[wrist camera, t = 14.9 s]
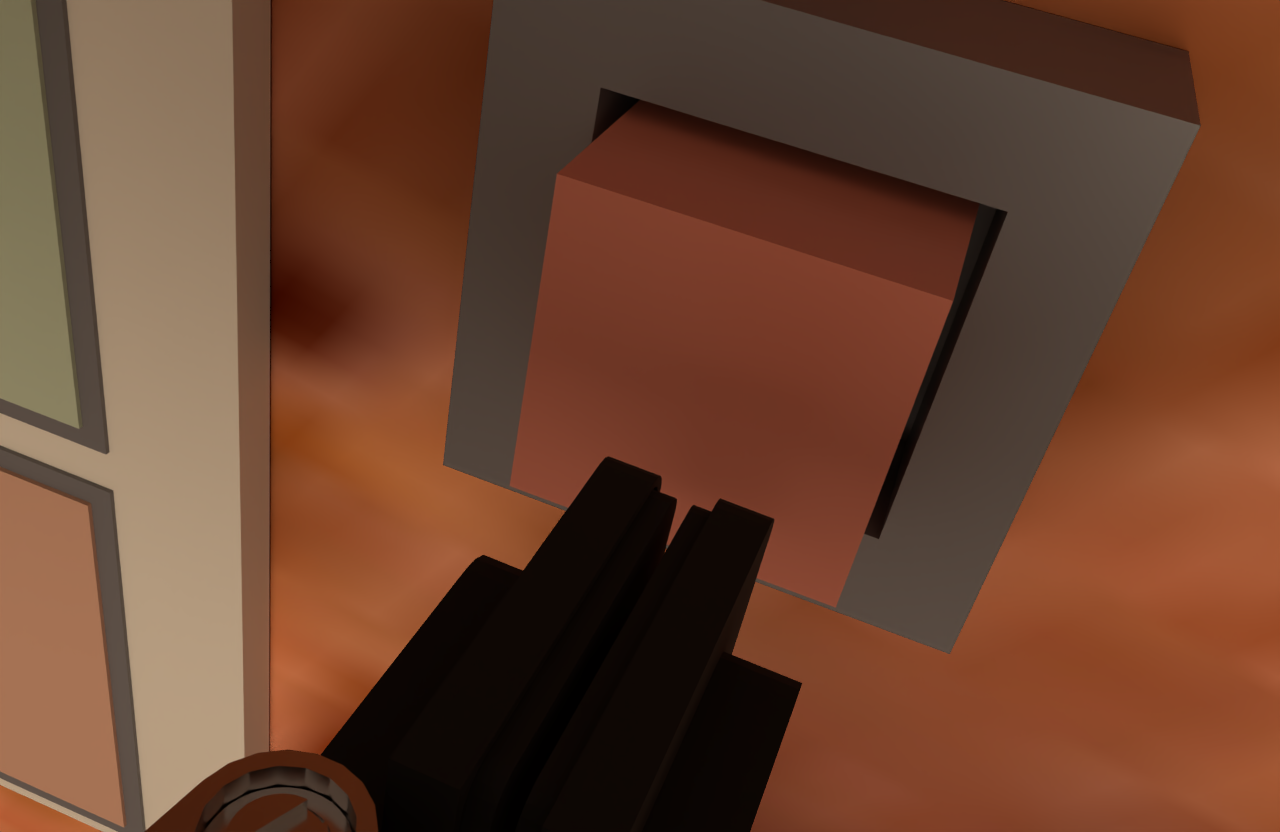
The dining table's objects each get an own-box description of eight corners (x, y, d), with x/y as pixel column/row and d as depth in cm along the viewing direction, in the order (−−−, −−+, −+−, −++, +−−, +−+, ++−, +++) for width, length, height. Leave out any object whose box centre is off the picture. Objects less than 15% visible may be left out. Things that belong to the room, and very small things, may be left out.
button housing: (594, -113, 16) (501, -74, 14) (1188, 51, 15) (1200, 125, 12) (522, 372, 21) (442, 464, 18) (971, 531, 19) (949, 653, 17)
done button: (646, 94, 15) (556, 173, 13) (982, 196, 15) (953, 301, 12) (592, 375, 18) (509, 486, 15) (876, 475, 17) (835, 608, 15)
